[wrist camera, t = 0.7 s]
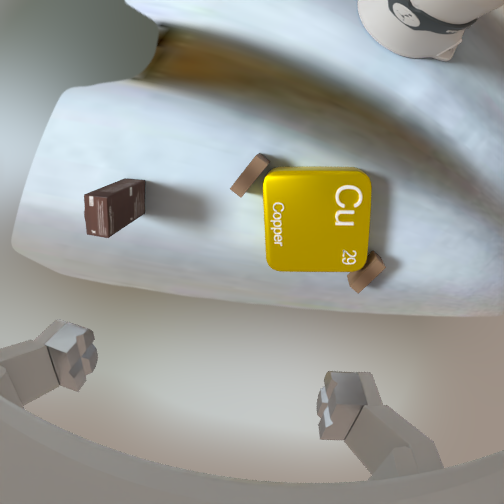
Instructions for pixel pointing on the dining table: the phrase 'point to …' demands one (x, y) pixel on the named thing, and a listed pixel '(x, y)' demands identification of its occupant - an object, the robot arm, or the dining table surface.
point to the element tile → (316, 218)
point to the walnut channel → (356, 278)
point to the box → (114, 207)
